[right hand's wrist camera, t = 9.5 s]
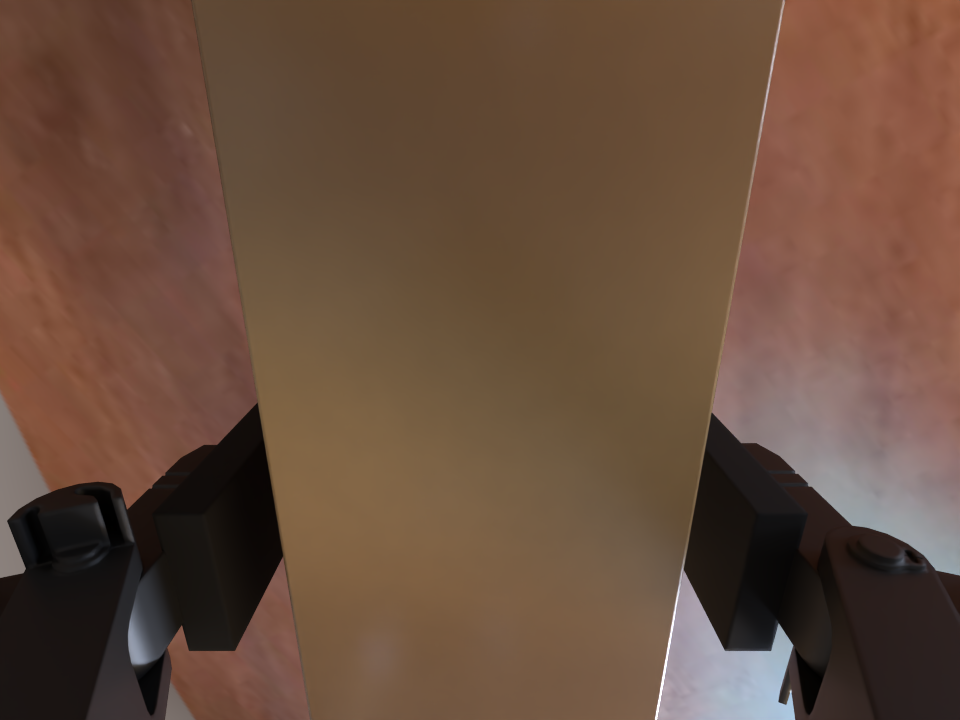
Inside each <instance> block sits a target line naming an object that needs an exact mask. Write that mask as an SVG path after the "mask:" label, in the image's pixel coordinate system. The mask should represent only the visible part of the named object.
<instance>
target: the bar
mask: <svg viewBox="0 0 960 720" xmlns="http://www.w3.org/2000/svg"><path fill="white" fill-rule="evenodd" d="M191 2H192V8H193V14H194V20H195V26H196V32H197V38H198V44H199V50H200V56H201V62H202V68H203V74H204V80H205V86H206V92H207V98H208V104H209V110H210V117H211V123H212V129H213V135H214V141H215V147H216V153H217V159H218V165H219V171H220V177H221V183H222V189H223V195H224V201H225V207H226V213H227V219H228V225H229V231H230V237H231V243H232V249H233V256H234V262H235V268H236V274H237V280H238V286H239V292H240V298H241V304H242V310H243V316H244V322H245V328H246V334H247V340H248V346H249V352H250V358H251V364H252V370H253V376H254V382H255V389H256V395H257V401H258V407H259V413H260V419H261V425H262V431H263V437H264V443H265V449H266V455H267V461H268V467H269V473H270V479H271V485H272V491H273V497H274V503H275V509H276V515H277V521H278V528H279V534H280V540H281V546H282V552H283V558H284V564H285V570H286V576H287V582H288V588H289V594H290V600H291V606H292V612H293V618H294V624H295V630H296V636H297V642H298V648H299V654H300V660H301V667H302V673H303V679H304V685H305V691H306V697H307V703H308V709H309V715H310V720H657V715H658V710H659V704H660V698H661V693H662V687H663V682H664V676H665V670H666V665H667V659H668V654H669V648H670V642H671V637H672V631H673V626H674V620H675V614H676V609H677V603H678V598H679V592H680V586H681V581H682V575H683V570H684V564H685V558H686V553H687V547H688V542H689V536H690V530H691V525H692V519H693V514H694V508H695V502H696V497H697V491H698V486H699V480H700V474H701V469H702V463H703V458H704V452H705V446H706V441H707V435H708V430H709V424H710V418H711V413H712V407H713V402H714V396H715V390H716V385H717V379H718V374H719V368H720V362H721V357H722V351H723V346H724V340H725V334H726V329H727V323H728V318H729V312H730V306H731V301H732V295H733V290H734V284H735V278H736V273H737V267H738V262H739V256H740V250H741V245H742V239H743V234H744V228H745V222H746V217H747V211H748V206H749V200H750V195H751V189H752V183H753V178H754V172H755V167H756V161H757V155H758V150H759V144H760V139H761V133H762V127H763V122H764V116H765V111H766V105H767V99H768V94H769V88H770V83H771V77H772V71H773V66H774V60H775V55H776V49H777V43H778V38H779V32H780V27H781V21H782V15H783V10H784V4H785V0H191Z"/></svg>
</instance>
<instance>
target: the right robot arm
mask: <svg viewBox="0 0 960 720" xmlns="http://www.w3.org/2000/svg"><path fill="white" fill-rule="evenodd" d="M152 486H153V487H152V489H148V490H147V491H146V492H145V493H144V494H143V495H142V496H141V497H140V498H139V499H138V500H137V501H136V502H135V503H134V504H133V505H132V506H131V507H130V508H129V509H128V510H127V508H126V505H125V501H124V498H123V495H122V491H121V489H120V488H119V487H117V486H116V485H114V484H113V483H104V482H92V483H83V484H77V485H73V486H69V487H65V488H62V489H58V490H55V491H53V492H51V493H48V494H46V495H43V496H41V497H39V498H36V499H35V500H33V501H31V502H30V503H28V504H27V505H25V506H23V507H22V508H20V509H19V510H17V511H16V512H15V513H14V514H13V515H12V516H11V518H10V519H8V521H7V522H8V524H9V527H10V529H11V532H12V534H13V537H14V540H15V542H16V544H17V547H18V549H19V552H20V555H21V557H22V560H23V562H24V565H25V567H26V570H25V572H24V573H23V574H18V575H13V576H8V577H3V578H0V720H165V714H166V707H167V700H168V692H169V685H170V678H171V670H172V667H171V660H170V655H169V652H168V649H167V647H168V645H169V644H170V642H171V641H172V639H173V637H174V636H175V634H176V633H177V631H178V630H179V628H180V627H181V625H182V627H183V630H184V634H185V638H186V641H187V645H188V649H189V651H235V650H236V648H237V646H238V644H239V642H240V640H241V638H242V636H243V634H244V632H245V630H246V628H247V626H248V624H249V622H250V620H251V618H252V616H253V614H254V612H255V610H256V608H257V606H258V604H259V602H260V600H261V599H262V597H263V595H264V593H265V591H266V589H267V587H268V585H269V583H270V581H271V579H272V577H273V575H274V573H275V571H276V569H277V567H278V565H279V563H280V561H281V559H282V557H283V552H282V546H281V540H280V534H279V528H278V521H277V515H276V509H275V503H274V497H273V491H272V485H271V479H270V473H269V467H268V461H267V455H266V449H265V443H264V437H263V431H262V425H261V419H260V413H259V407H258V403H257V404H256V405H255V406H254V407H253V408H252V409H251V410H250V411H249V412H248V413H247V414H246V415H245V416H244V417H243V419H242V420H241V421H240V422H239V423H238V424H237V425H236V426H235V427H234V428H233V429H232V430H231V431H230V432H229V433H228V434H227V435H226V436H225V437H224V438H223V440H222V441H221V442H220V443H219V444H218V445H203V446H201V447H200V448H198V449H196V450H194V451H192V452H191V453H189V454H187V455H185V456H183V457H182V458H180V459H179V460H178V461H177V462H176V463H175V464H174V465H173V466H172V467H171V468H170V469H169V470H168V471H167V472H166V475H165V476H162V477H161V478H160V479H159V480H158V481H157V482H156V483H154V484H153V485H152ZM684 571H685V573H686V575H687V577H688V579H689V581H690V583H691V585H692V587H693V589H694V591H695V593H696V595H697V597H698V598H699V600H700V602H701V604H702V606H703V608H704V610H705V612H706V614H707V616H708V618H709V620H710V622H711V624H712V626H713V628H714V630H715V632H716V634H717V636H718V638H719V640H720V642H721V644H722V646H723V648H724V650H725V651H771V649H772V645H773V641H774V638H775V634H776V630H777V627H778V623H779V624H780V626H781V627H782V629H783V630H784V632H785V633H786V635H787V636H788V638H789V639H790V641H791V642H792V644H793V649H792V652H791V655H790V659H789V662H788V666H787V669H786V673H785V676H784V679H783V683H782V686H781V690H780V695H779V702H780V703H782V704H785V705H786V704H787V701H788V698H789V694H790V693H791V692H792V698H793V706H794V713H795V720H960V576H959V575H954V574H949V573H944V572H940V571H935V569H934V567H933V566H932V565H931V564H930V563H929V561H928V560H927V559H926V558H925V557H924V555H922V554H921V553H919V552H918V551H917V550H915V549H914V548H912V547H911V546H910V545H908V544H907V543H905V542H903V541H901V540H899V539H896V538H894V537H892V536H890V535H888V534H886V533H882V532H879V531H876V530H873V529H869V528H865V527H857V526H852V525H851V524H850V523H849V522H848V521H847V520H846V519H845V518H843V517H842V516H841V515H840V514H839V513H838V512H837V511H836V510H835V509H834V508H833V507H832V506H831V505H830V504H829V503H828V502H827V501H826V500H825V499H824V498H823V497H822V496H821V495H819V494H818V493H817V492H816V491H815V490H814V489H813V488H812V487H808V483H807V482H806V481H805V480H804V479H803V478H802V477H801V476H800V475H799V474H795V471H794V470H793V469H792V468H791V467H790V466H789V465H788V464H787V463H786V462H785V461H784V460H783V459H782V458H781V457H780V456H778V455H777V454H775V453H773V452H771V451H769V450H768V449H766V448H764V447H762V446H760V445H759V444H757V443H740V442H739V441H738V440H737V438H736V437H735V436H734V435H733V434H732V433H731V432H730V431H729V430H728V429H727V428H726V427H725V426H724V425H723V424H722V423H721V422H720V421H719V420H718V419H717V417H716V416H715V415H714V414H713V413H711V418H710V424H709V430H708V435H707V441H706V446H705V452H704V458H703V463H702V469H701V474H700V480H699V486H698V491H697V497H696V502H695V508H694V514H693V519H692V525H691V530H690V536H689V542H688V547H687V553H686V558H685V564H684Z"/></svg>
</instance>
